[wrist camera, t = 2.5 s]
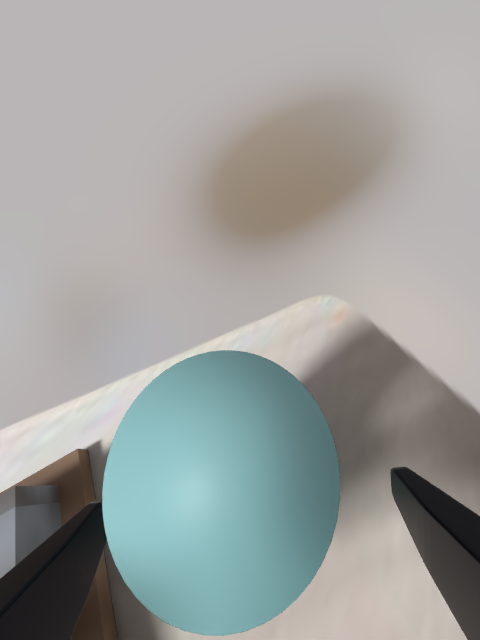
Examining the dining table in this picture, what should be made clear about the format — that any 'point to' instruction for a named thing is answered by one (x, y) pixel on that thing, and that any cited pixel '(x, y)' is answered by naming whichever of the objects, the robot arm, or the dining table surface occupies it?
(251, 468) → the post
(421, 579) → the dining table surface
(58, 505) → the brown and grey tray
